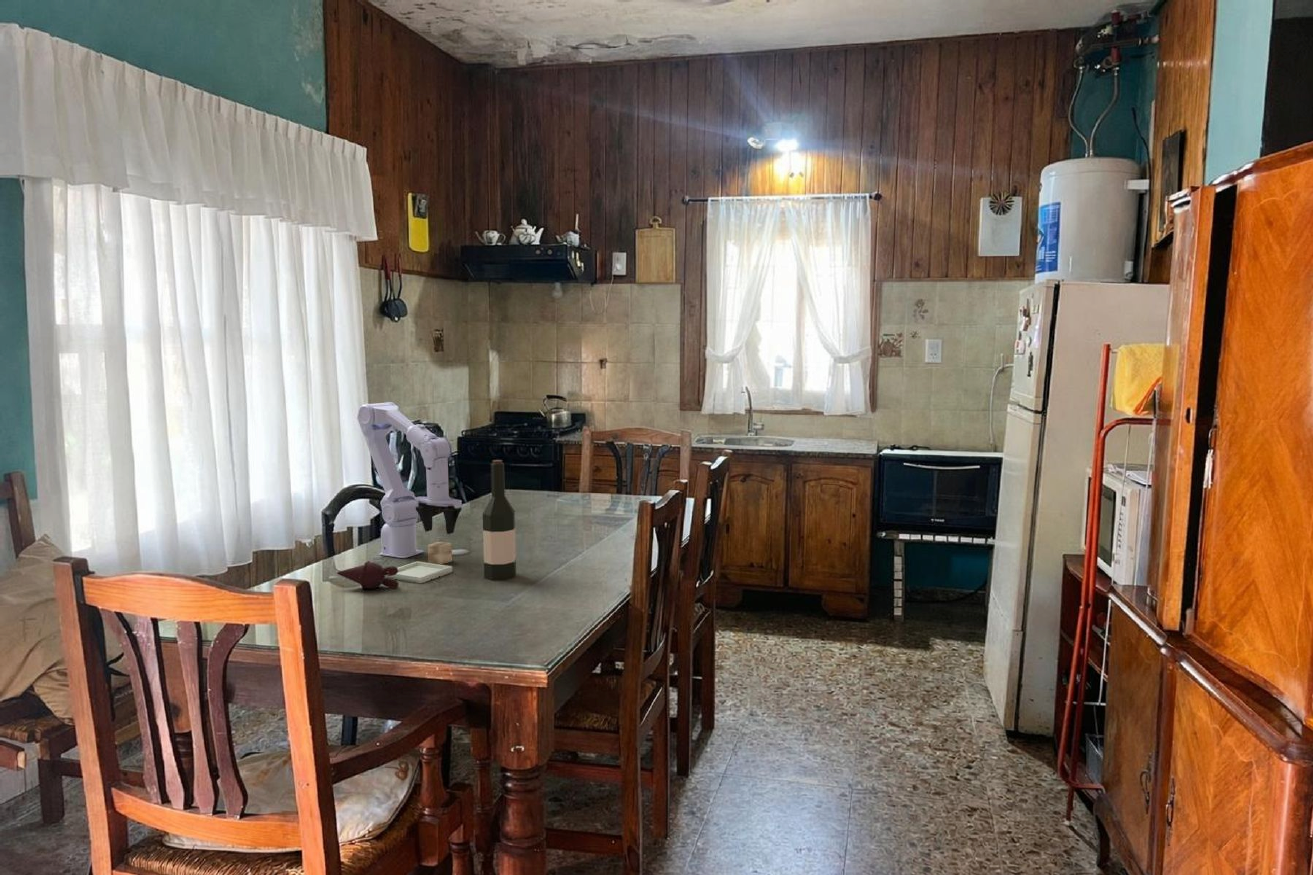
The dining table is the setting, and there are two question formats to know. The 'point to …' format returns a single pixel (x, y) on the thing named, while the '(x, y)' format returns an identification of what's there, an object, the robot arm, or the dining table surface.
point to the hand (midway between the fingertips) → (439, 532)
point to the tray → (420, 572)
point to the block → (439, 553)
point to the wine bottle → (499, 530)
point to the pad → (460, 552)
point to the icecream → (371, 575)
